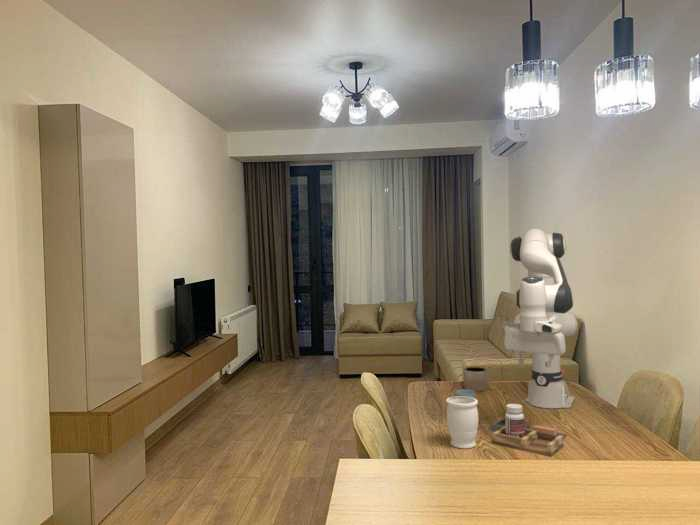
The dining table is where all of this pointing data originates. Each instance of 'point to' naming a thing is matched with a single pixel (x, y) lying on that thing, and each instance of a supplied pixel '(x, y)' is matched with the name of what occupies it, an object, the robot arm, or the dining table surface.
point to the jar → (462, 421)
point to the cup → (465, 393)
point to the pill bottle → (514, 421)
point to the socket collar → (501, 422)
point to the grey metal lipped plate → (549, 436)
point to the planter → (475, 379)
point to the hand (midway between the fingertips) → (534, 365)
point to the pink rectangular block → (545, 430)
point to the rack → (528, 442)
